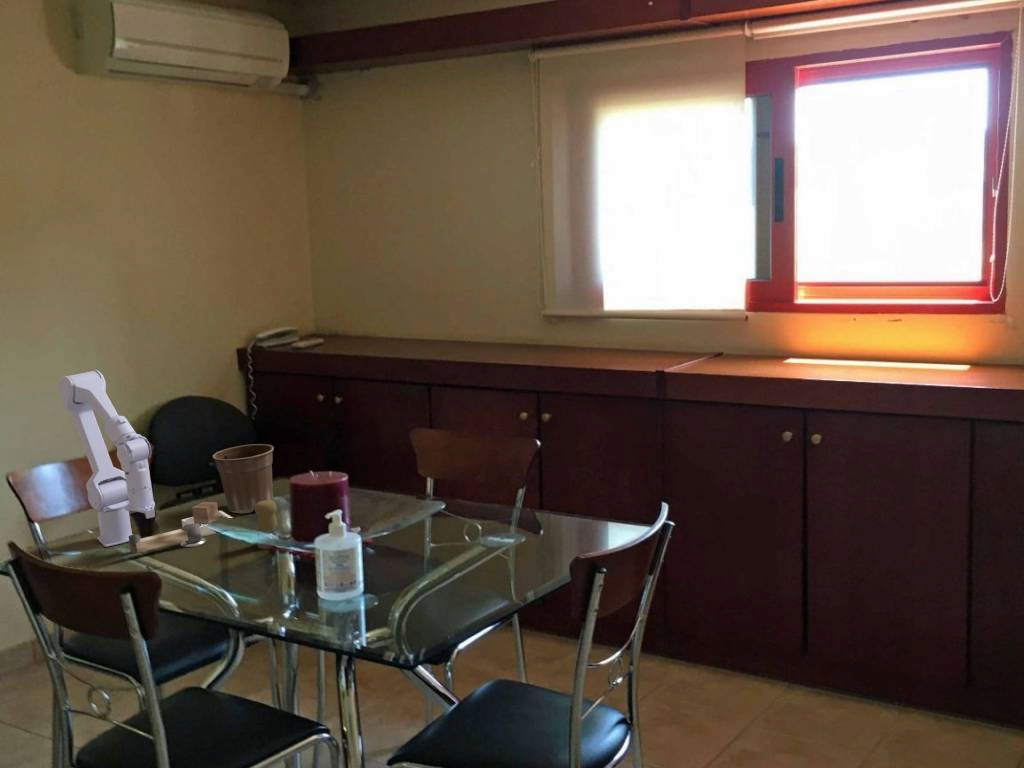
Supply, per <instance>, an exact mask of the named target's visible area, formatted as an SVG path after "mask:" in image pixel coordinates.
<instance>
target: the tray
mask: <svg viewBox="0 0 1024 768" xmlns="http://www.w3.org/2000/svg"><path fill="white" fill-rule="evenodd" d="M218 514H219V516H223V517H227V518H233V516H231V515H229V514H227V513H226V512H224V511H223V510H218ZM188 524H194V518H193V516H191V517H187V518H183V519H181V525H182V527H181V529H183V526H185V525H188ZM207 525H208V524H207ZM207 525H203V526H200V533H201V538H204V537H207V536H209V535H210V536H212V535H214V534H217V533H216V532H214V531H212V530H210V529H209V528H208V527H206V526H207Z"/></svg>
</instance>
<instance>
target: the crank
mask: <svg viewBox="0 0 1024 768" xmlns="http://www.w3.org/2000/svg"><path fill="white" fill-rule="evenodd" d="M132 534H133V533H132ZM201 538H202V537H201V533H200V526H199V524H188V525H185V526H183V528H179V529H175V530H171V531H168V532H163V533H159V534H155V535H152V536H150V537H146V538H142V539H141V538H140V534H139V533H135V534H133V535H130V536H129V542H128V543H129V549H130V553H131V554H138V553H142V552H146V551H151V550H154V549H158V548H163V547H166V546H170V545H174V544H178V543H181V542H183V541H185V542H186V543H194V542H198V541H200V540H201Z"/></svg>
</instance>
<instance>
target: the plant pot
mask: <svg viewBox="0 0 1024 768" xmlns="http://www.w3.org/2000/svg"><path fill="white" fill-rule="evenodd" d="M274 448H275V447H274V446H273V445H271V444H267V443H266V444H265V443H264V444H263V443H259V444H257V443H256V444H245V445H239V446H238V445H237V446H234V447H233V446H232V447H227V448H226V449H222V450H220V451H219V450H218V451H216V452H215V453H214V454H213V455H212V459H213V460H214V462H215V465H216V469H217V471H218V473H219V477H220V480H221V484H222V488H223V489H222V490H223V492H224V493H223V494H224V496H225V501H226V506H227V509H228V510H227V511H229V512H230V511H236V510H245V509H251V508H255V505H256V504H257V503H258V502H260V501H264V500H272V499H273V500H274V492H273V491H274V490H273V488H274V486H273V468H272V467H273V466H272V464H273V459H274V458H273V452H274Z"/></svg>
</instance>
